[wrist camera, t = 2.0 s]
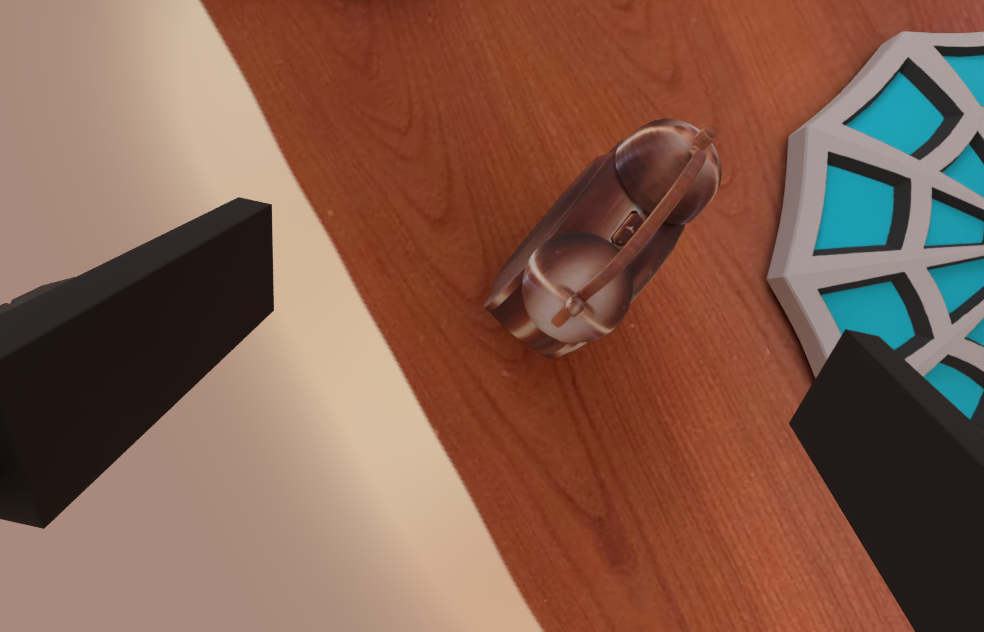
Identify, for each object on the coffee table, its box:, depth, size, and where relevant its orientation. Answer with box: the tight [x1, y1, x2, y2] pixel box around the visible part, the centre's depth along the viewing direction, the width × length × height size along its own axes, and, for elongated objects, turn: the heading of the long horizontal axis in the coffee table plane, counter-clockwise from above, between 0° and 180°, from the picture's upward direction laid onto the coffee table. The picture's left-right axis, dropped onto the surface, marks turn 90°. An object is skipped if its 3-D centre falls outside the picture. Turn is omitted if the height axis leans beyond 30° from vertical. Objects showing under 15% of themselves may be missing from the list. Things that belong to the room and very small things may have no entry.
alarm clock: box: [484, 119, 721, 358], centre depth 25 cm, size 11×5×15 cm, turn 141°
